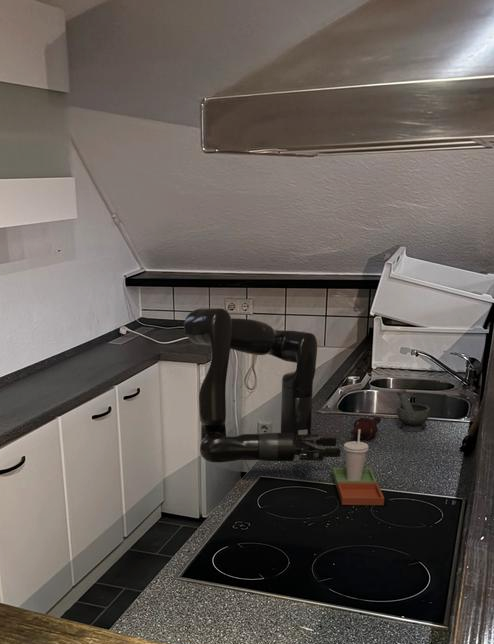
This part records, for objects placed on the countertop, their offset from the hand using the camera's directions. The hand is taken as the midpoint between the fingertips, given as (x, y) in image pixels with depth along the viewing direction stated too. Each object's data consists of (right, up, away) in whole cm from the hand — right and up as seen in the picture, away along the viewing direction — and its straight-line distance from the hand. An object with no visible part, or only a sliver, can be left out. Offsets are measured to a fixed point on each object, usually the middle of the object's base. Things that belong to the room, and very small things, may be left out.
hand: (338, 447), depth 200 cm
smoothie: (+5, -9, +3) cm, 10 cm away
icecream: (+16, +4, +35) cm, 39 cm away
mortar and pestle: (+33, +8, +44) cm, 55 cm away
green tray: (+5, -9, +3) cm, 11 cm away
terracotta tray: (+4, -13, -7) cm, 15 cm away
